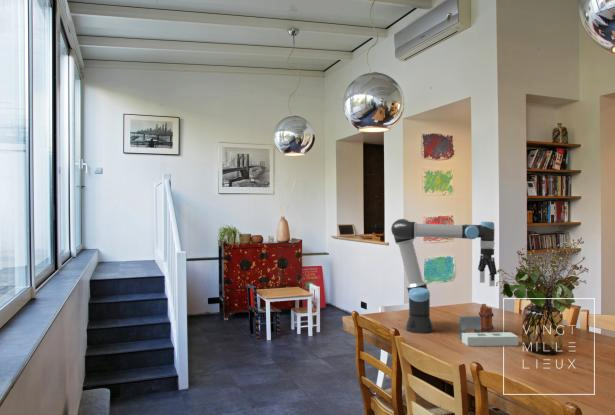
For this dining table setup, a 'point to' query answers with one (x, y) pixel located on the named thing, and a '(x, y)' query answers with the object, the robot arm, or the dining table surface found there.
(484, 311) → the mug
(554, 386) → the dining table surface
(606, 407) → the dining table surface
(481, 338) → the pale board with holes
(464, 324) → the grey block
